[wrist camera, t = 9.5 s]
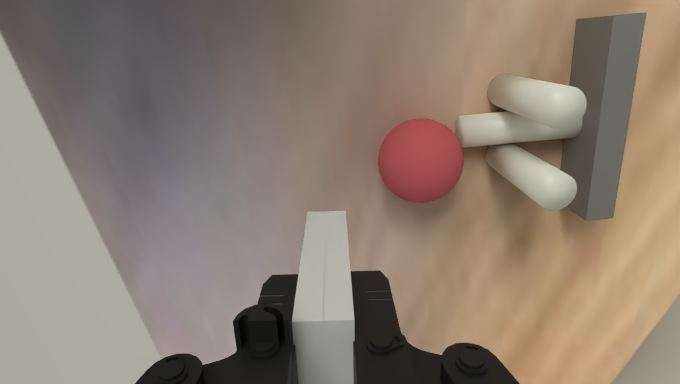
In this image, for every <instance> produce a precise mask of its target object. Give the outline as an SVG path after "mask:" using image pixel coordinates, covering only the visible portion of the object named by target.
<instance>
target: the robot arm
mask: <svg viewBox="0 0 680 384" xmlns="http://www.w3.org/2000/svg"><path fill="white" fill-rule="evenodd" d="M233 325H234V332H235V339H236V346H237V351H236V353H235V354H233V355H231V356H230V357H228V358H225V359H222V360H220V361H216V362H213V363H209V364H205V365H202V362H201V361H200V360H199V359H198V358H197V357H196V356H193V355H191V354H175V355H172V356H168V357H165V358H163V359H162V360H160V361H158V362H156V363H155V364H154V365H152V366H151V367H150V368H149V369H148V370H147V371H146V372H145V373H144V374H143V375H142V376H141V378H140V379H139V380H138V381H137V382H136V383H135V384H519V383H518V381H517V380H516V379H515V378H514V377H513V376H512V374H511V373H510V372H509V371H508V370H507V369H506V367H505V366H504V365H503V364H502V363H501V362H500V360H499V359H498V358H497V357H496V356H495V355H494V354H492V353H491V352H490V351H489V350H487V349H485V348H483V347H481V346H479V345H475V344H470V343H456V344H454V345H451V346H449V347H447V348H446V350H445V351H444V352H443V354H442V355H438V354H434V353H429V352H425V351H422V350H419V349H417V348H415V347H413V346H412V345H411V344H409V343H408V342H407V340H406V338H405V336H403V335H402V334H401V331H400V327H399V323H398V319H397V314H396V310H395V306H394V302H393V298H392V293H391V289H390V285H389V281H388V279H387V278H386V277H385V276H384V274H383V273H382V272H381V271H352V272H351V271H350V259H349V247H348V234H347V222H346V211H321V212H307V218H306V225H305V232H304V239H303V246H302V253H301V260H300V267H299V274H292V275H272V276H271V277H270V278H269V279H268V280H267V281H266V282H265V283H264V284H263V287H262V290H261V294H260V297H259V301H258V305H254V306H251V307H249V308H246V309H244V310H243V311H242V312H240V313H239V314H238V315H237V316H236V318H235V319H234V321H233Z"/></svg>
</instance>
